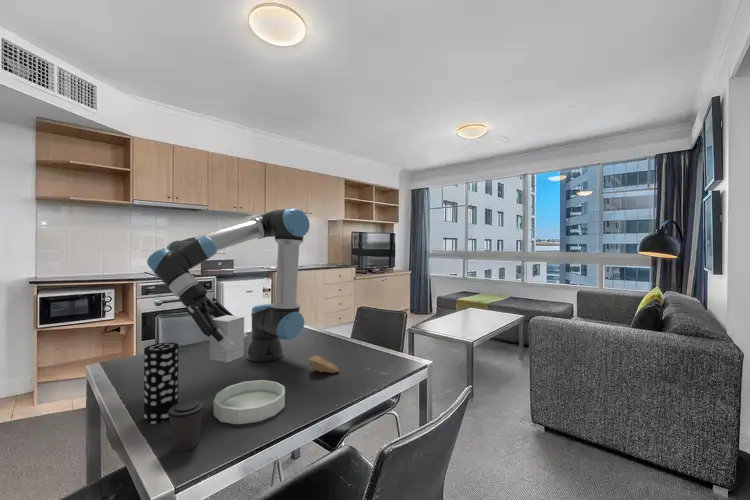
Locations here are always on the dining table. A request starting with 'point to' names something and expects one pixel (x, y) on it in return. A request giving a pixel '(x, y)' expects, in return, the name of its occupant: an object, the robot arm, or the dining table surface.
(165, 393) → the white-spotted black cylinder
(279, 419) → the dining table surface
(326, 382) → the dining table surface
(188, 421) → the coffee cup
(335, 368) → the pottery oil lamp
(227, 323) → the supplement box
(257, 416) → the bowl
